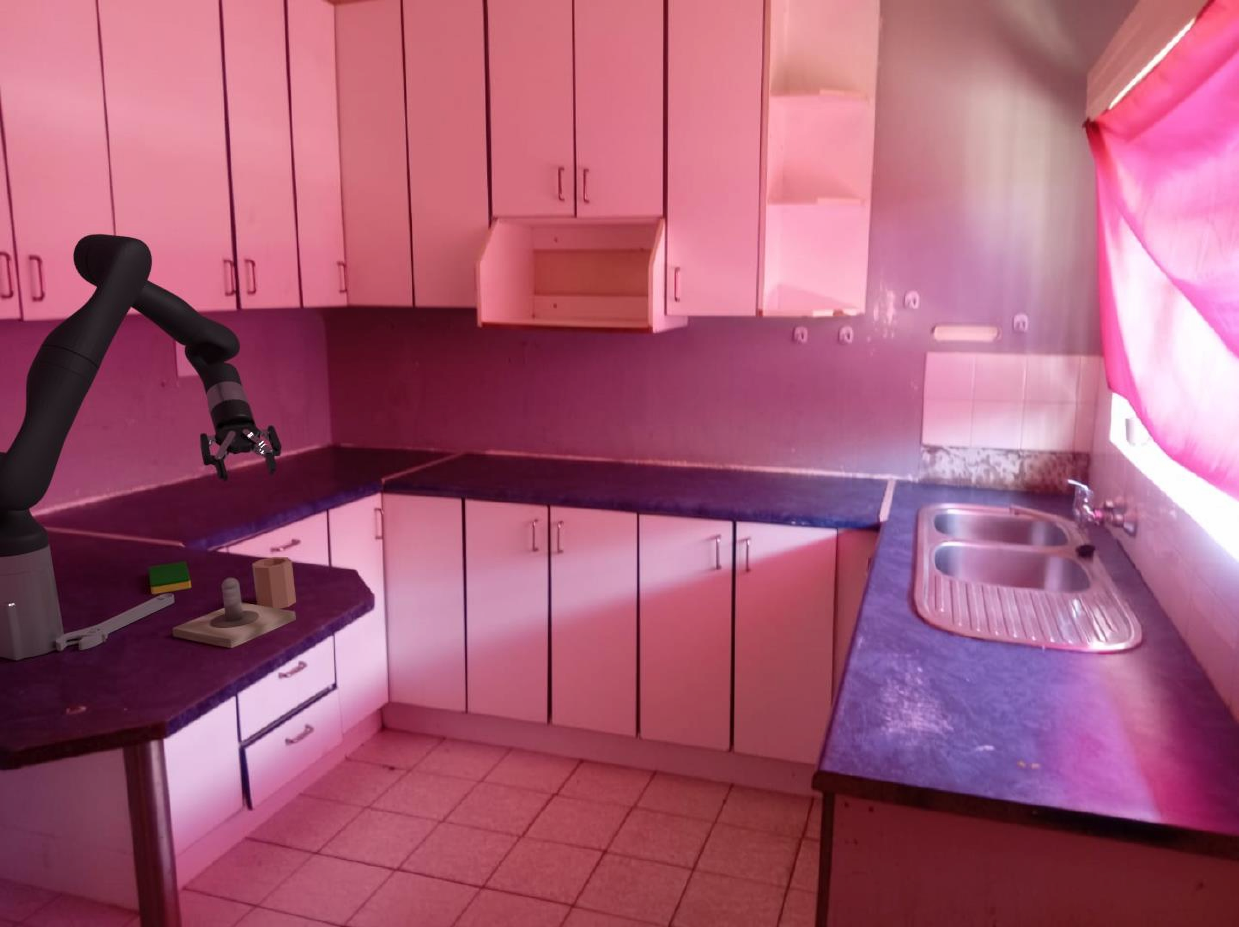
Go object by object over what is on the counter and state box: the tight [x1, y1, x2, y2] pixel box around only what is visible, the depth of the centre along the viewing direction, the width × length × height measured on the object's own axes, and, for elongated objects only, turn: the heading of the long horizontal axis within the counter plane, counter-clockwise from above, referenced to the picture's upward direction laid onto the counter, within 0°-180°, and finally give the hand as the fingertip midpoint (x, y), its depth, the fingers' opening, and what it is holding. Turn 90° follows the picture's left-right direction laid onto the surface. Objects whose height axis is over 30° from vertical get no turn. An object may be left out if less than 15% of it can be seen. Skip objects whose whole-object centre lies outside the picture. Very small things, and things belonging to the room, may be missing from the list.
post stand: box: [172, 577, 297, 649], centre depth 165 cm, size 14×14×9 cm
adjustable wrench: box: [56, 593, 175, 652], centre depth 169 cm, size 25×6×2 cm, turn 161°
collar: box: [251, 556, 297, 609], centre depth 177 cm, size 6×6×8 cm
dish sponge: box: [147, 561, 192, 595], centre depth 194 cm, size 7×14×2 cm, turn 27°
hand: (249, 475), depth 183 cm, fingers open, 8 cm apart
